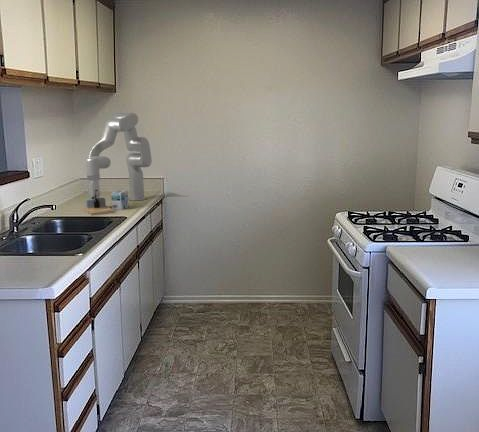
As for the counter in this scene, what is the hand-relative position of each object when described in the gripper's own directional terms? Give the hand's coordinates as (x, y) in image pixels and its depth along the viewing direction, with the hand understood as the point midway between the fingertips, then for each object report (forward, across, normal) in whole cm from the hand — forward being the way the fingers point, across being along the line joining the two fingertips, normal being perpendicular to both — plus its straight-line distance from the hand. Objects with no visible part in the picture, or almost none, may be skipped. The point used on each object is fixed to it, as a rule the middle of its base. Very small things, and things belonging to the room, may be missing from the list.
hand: (95, 206), depth 343 cm
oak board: (+2, +7, 0) cm, 7 cm away
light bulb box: (+2, +5, +14) cm, 15 cm away
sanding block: (0, 0, 0) cm, 0 cm away
